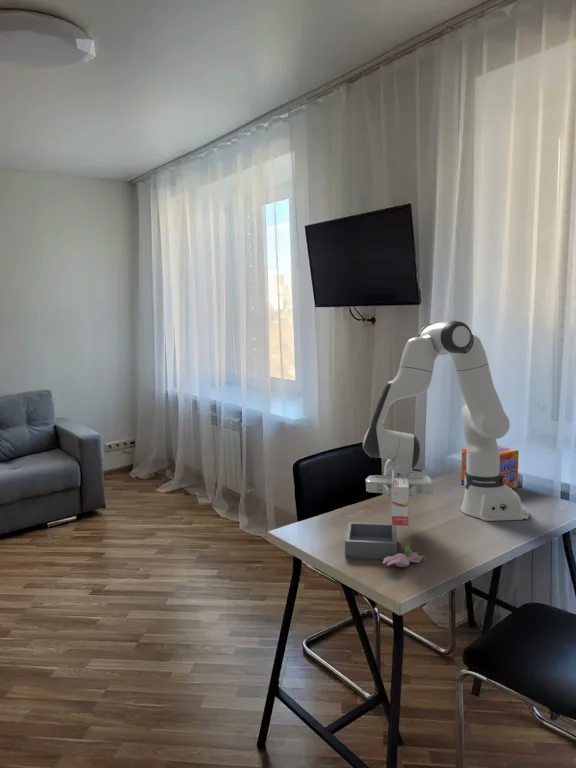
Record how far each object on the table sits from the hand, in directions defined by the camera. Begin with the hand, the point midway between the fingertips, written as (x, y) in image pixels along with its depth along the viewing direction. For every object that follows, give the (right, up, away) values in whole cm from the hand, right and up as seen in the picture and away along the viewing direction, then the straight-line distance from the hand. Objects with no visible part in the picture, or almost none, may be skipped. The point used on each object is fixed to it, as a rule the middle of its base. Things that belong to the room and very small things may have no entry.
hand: (399, 493), depth 162 cm
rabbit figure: (0, -20, -7) cm, 21 cm away
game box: (+49, -10, +62) cm, 80 cm away
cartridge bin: (-8, -18, +5) cm, 20 cm away
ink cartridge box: (0, -9, +2) cm, 9 cm away
